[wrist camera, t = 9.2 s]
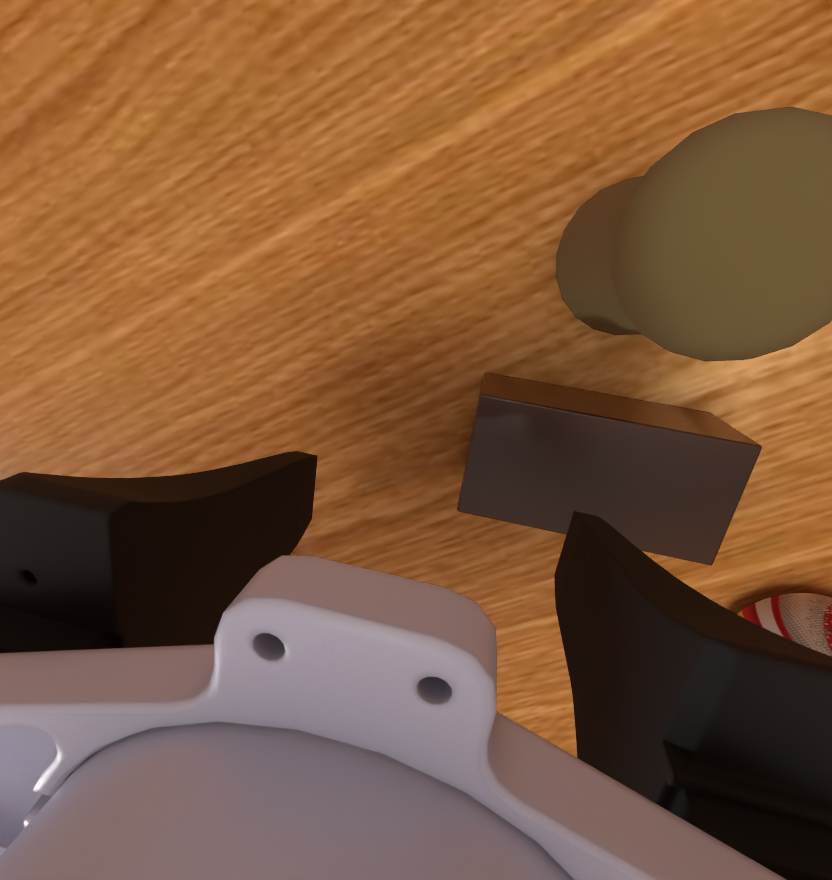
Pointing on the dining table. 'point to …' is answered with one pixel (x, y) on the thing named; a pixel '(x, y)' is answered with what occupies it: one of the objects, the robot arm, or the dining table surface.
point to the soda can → (796, 618)
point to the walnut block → (605, 465)
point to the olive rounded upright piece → (712, 241)
